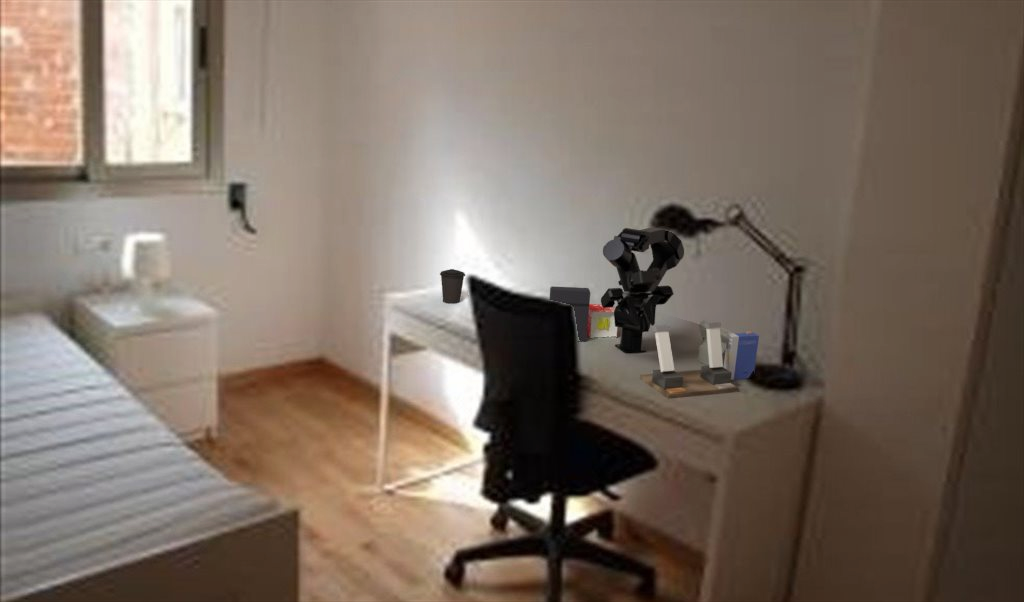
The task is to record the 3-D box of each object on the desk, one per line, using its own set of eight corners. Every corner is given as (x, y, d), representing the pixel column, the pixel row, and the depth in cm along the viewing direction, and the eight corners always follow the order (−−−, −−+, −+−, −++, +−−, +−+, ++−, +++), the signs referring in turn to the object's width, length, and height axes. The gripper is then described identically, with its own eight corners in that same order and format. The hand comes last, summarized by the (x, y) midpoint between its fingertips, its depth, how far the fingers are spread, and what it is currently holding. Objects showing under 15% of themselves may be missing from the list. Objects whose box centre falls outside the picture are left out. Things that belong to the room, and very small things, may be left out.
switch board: (640, 378, 241) (641, 363, 240) (707, 372, 248) (709, 358, 247) (668, 398, 229) (669, 382, 228) (738, 391, 236) (740, 376, 235)
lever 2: (707, 367, 240) (704, 323, 240) (720, 366, 241) (716, 322, 241) (712, 367, 238) (708, 322, 238) (724, 366, 239) (720, 322, 240)
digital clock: (747, 374, 249) (752, 336, 246) (716, 375, 247) (721, 336, 244) (720, 354, 264) (725, 318, 261) (690, 355, 262) (694, 318, 259)
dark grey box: (584, 337, 272) (588, 287, 268) (586, 342, 268) (590, 291, 264) (546, 336, 272) (550, 285, 268) (547, 340, 267) (551, 289, 263)
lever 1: (659, 372, 234) (652, 327, 237) (672, 371, 236) (665, 327, 238) (663, 371, 233) (656, 326, 235) (676, 370, 234) (669, 325, 236)
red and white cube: (590, 338, 272) (592, 311, 270) (582, 330, 280) (584, 304, 278) (616, 338, 274) (619, 311, 272) (608, 330, 281) (611, 304, 279)
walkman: (747, 374, 249) (753, 331, 246) (753, 378, 246) (759, 334, 243) (721, 376, 246) (726, 332, 243) (726, 380, 244) (732, 335, 241)
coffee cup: (454, 296, 307) (455, 266, 305) (469, 302, 301) (470, 272, 299) (433, 299, 302) (434, 269, 299) (448, 306, 296) (449, 275, 294)
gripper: (609, 257, 240) (626, 312, 233) (673, 255, 247) (691, 308, 240) (593, 280, 249) (609, 333, 242) (655, 277, 256) (672, 328, 249)
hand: (646, 325), depth 243 cm, fingers open, 4 cm apart
